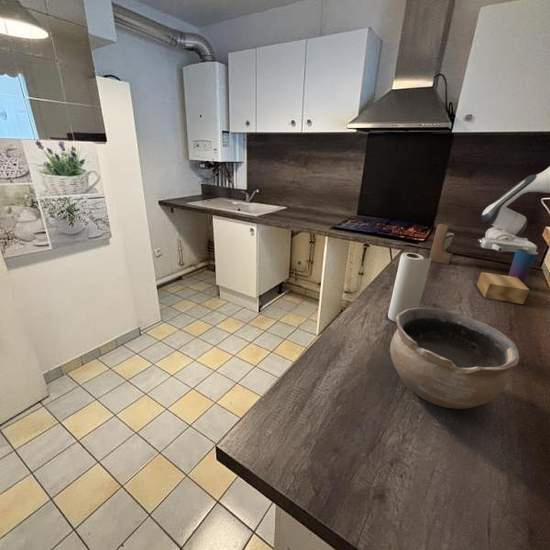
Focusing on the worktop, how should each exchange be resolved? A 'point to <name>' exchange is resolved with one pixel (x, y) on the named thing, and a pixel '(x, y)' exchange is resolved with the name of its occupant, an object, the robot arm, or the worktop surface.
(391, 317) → the paper towel roll
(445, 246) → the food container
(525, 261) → the cup
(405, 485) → the worktop surface
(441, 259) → the wooden block
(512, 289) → the riser
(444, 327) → the ceramic bowl
